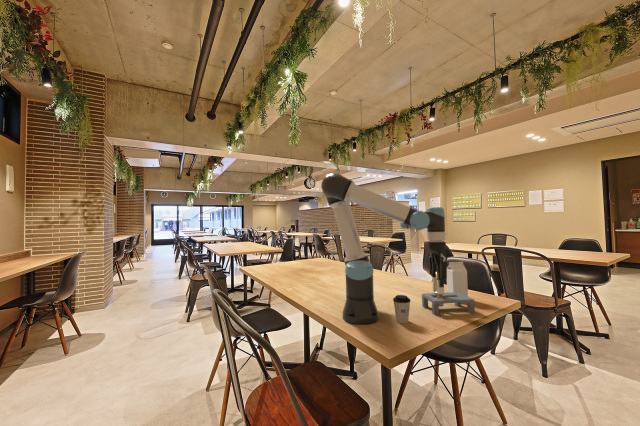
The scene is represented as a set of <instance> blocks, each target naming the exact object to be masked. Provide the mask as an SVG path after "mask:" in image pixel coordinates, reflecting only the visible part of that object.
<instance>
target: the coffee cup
mask: <svg viewBox="0 0 640 426" xmlns="http://www.w3.org/2000/svg"><path fill="white" fill-rule="evenodd" d="M392 301H393V305H394V306H393V307H394V313H395V314H394V315H395V319H396V322H397V323H399V324H408V323H409V318H410V306H411V305H410V304H411V302H412V301H411V298H409V297H408V296H407V295H405V294H404V295H403V294H397V295H395V297H393V299H392Z"/></svg>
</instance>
